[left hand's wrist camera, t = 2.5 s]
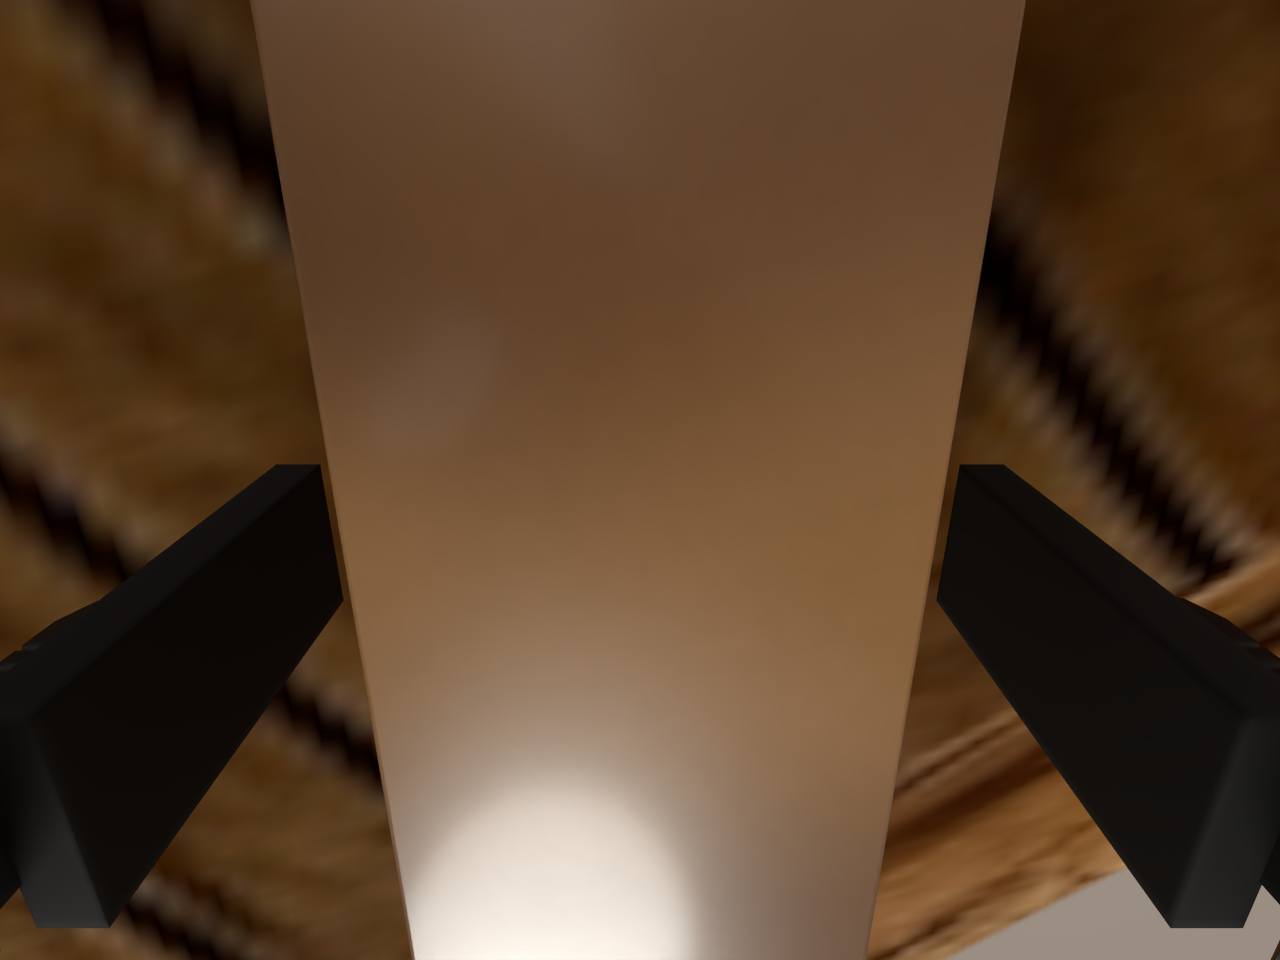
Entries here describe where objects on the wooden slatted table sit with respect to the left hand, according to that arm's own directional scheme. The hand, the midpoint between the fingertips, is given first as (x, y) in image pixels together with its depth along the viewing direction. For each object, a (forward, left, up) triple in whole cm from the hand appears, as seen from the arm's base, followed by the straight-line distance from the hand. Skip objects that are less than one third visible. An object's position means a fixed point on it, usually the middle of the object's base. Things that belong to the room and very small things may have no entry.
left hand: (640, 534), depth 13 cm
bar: (-9, +9, -2) cm, 13 cm away
